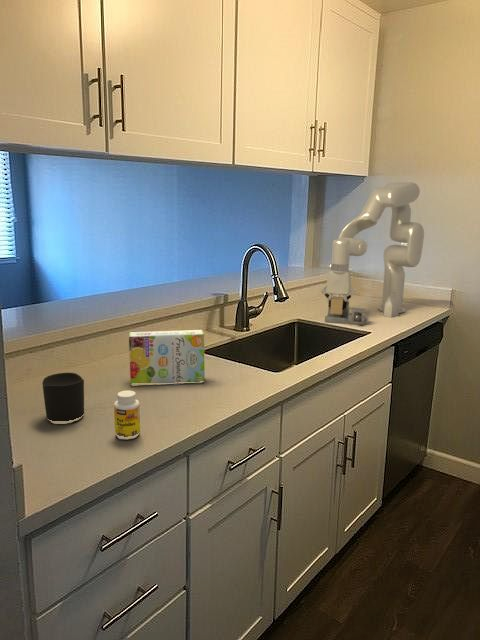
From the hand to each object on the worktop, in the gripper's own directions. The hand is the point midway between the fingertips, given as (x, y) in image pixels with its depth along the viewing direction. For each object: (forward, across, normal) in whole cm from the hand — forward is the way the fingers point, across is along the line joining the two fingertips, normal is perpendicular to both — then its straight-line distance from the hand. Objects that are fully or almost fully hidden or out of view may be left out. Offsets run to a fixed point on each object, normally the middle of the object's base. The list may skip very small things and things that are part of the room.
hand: (337, 308), depth 233 cm
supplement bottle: (+6, -32, -132) cm, 136 cm away
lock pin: (+3, +9, -3) cm, 10 cm away
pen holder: (+6, -51, -128) cm, 138 cm away
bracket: (+5, +4, 0) cm, 6 cm away
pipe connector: (+5, -2, +21) cm, 22 cm away
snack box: (+6, -38, -97) cm, 104 cm away
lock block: (+2, 0, 0) cm, 2 cm away
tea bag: (+5, +23, +17) cm, 29 cm away
